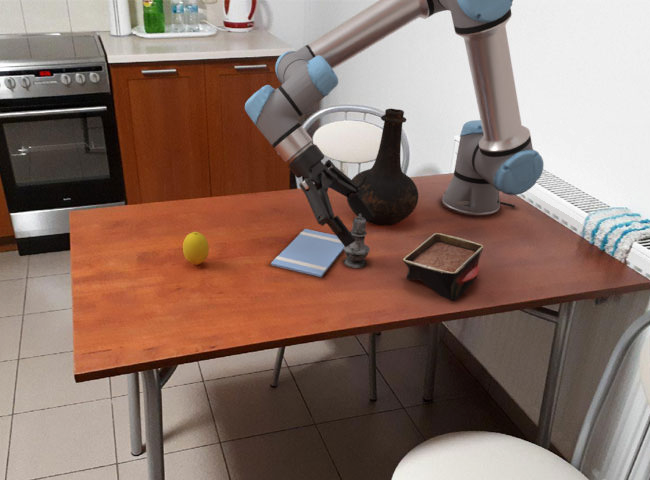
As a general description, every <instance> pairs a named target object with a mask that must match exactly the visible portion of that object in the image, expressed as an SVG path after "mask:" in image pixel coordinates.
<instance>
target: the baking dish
mask: <svg viewBox="0 0 650 480" xmlns="http://www.w3.org/2000/svg"><path fill="white" fill-rule="evenodd" d="M483 250H484V245H483V244H481V243H478V242H475V241H472V240H469V239H465V238H463V237H458V236H454V235H449V234H446V233H440V232H434V233H432V234H431V235H430V236H428V237H427V238H426V239H425V240H423V242H421V244H419V245H418V246H417V247H416V248H415V249H413V250H412V251H410V252H409V253H408V254H406V256H405V257H404V258H403V259H402V261H403V263H404V264H405V265H406V267H407V274H406V277H405V279H406V280H419V281H420V282H422V283H423V284H424V285H426V286H427V287H428V288H430V290H432V291H434V292H435V293H436V294H438V295H439V296H440V297H442V298H444V299H447V300H449V301H451V302H456V301H457V300H458V299H459V298H460V297H462V295H463V294H465V292H466V291H467V290H468V289H469V288H470V287H471V285H472V284H473V283H474V282H475V280H477V278H478V275H479V273H480V267H479V262H480V259H481V256H482V254H483Z"/></svg>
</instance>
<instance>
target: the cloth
mask: <svg viewBox="0 0 650 480" xmlns="http://www.w3.org/2000/svg"><path fill="white" fill-rule="evenodd" d="M343 251H345V250H344V245H343V244H342V242H341V241H340V240H339V238H338V237H337V236H336V235H335V234H331V233H327V232H321V231H316V230H313V229H309V228H303V230H302V231H300V233H299V234H298V235H297V236H296V237H295V238H294V239H293V240H292V241H291V242H290V243H289V244H288V245H287V246H286V247H285V248H284V249H283V250H282V251H281V252H280V253H279V254H278V255H277V256H276V257H275V258H274V259H273V260H272V261H271V262H270V266H272V267H276V268H281V269H284V270H289V271H292V272H293V271H294V272H298V273H300V274H301V273H302V274H304V275H305V274H306V275H310V276H313V277H317V278H323V276H324V275H325V273H326V272H327V271H328V270H329V269H330V267H331V266H332V265H333V263H335V261H336V260H337V259H338V258H339V257H340V255H341V254H342V253H343Z"/></svg>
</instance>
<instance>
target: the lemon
mask: <svg viewBox="0 0 650 480" xmlns="http://www.w3.org/2000/svg"><path fill="white" fill-rule="evenodd" d="M209 246H210V245H209V242H208V240H207V237H206V236H205V235H204V234H203V233H201V232H197V231H193V232H190V233H188V234H187V235H186V236H185V238H184V240H183V243H182V252H183V253H182V254H183V256H184V258H185V259H186V261H187V262H189V263H191V264H194V265H195V266H198V265H199V264H202V263H204V261H206V259H207V258H208V256H209V251H210V247H209Z"/></svg>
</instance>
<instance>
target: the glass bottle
mask: <svg viewBox="0 0 650 480" xmlns="http://www.w3.org/2000/svg"><path fill="white" fill-rule="evenodd" d="M404 115H405V111H404V109H403V110H402V109H398V108H387V109H385V110H384V114H383V115H381V116H380V120H382V121H383V126H382V133H381V138H380V143H379V147H378V151H377V154H376V157H375V160H374V163H373V165H372V166H371V168H369V169H365V170H362V171H360V172H359V173H357V174H356V175H355V176H353V178H351V180H352V181H354V182H355V183H356V184H357V185H358V187H359V188H360V191H359V192H358V195H359V196H360V197H361V199H362V200H363V201H364V203H365V204H366V205H367V207H368V208H369V209H370V210H371V212H372V213H373V214H374V217H373V218H372V219H371V220H369V221H368V222H367V223H368V224H370V225H373V226H379V227H388V226H394V225H397V224H400V223H402V222H403V221H404V220H406V219H407V218H408V217H410V216H411V215H412V213H414V211H415V209H416V207H417V205H418V201H419V190H418V187H417V185H416V184H415V182H414V180H413V179H412V178H411V177H410V176H408V175H407V174H406V173H404V172H403V170H402V164H401V162H402V161H401V150H402V149H401V147H402V132H403V123H406V122H407V118H406V117H405V116H404ZM350 186H351V185H350ZM349 199H350V198H347V197H346V201H347V204H348V206H349V208H350V210H351V212H353V214H354V215H355V217H358V216H359V215H358V214H357V212H356V211H355V210H354V209H353V207H352V206H351V205H350V203H349V202H348V200H349Z"/></svg>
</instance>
